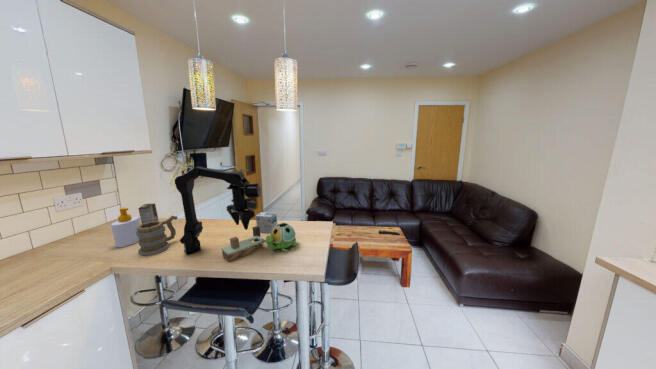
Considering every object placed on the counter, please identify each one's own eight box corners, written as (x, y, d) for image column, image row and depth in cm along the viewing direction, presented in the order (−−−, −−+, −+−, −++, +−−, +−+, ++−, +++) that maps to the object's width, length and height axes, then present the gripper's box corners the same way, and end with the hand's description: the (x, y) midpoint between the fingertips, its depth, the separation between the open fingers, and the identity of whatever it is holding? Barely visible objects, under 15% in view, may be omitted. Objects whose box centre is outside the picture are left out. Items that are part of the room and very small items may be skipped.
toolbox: (229, 261, 112) (228, 255, 111) (222, 256, 118) (221, 249, 117) (264, 248, 124) (264, 241, 124) (257, 243, 130) (256, 237, 129)
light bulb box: (278, 229, 148) (276, 212, 146) (272, 233, 142) (271, 216, 139) (262, 228, 151) (261, 211, 149) (256, 232, 145) (255, 215, 142)
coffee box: (148, 227, 157) (143, 204, 154) (160, 226, 159) (155, 202, 156) (143, 233, 149) (137, 208, 145) (155, 231, 151) (150, 206, 147)
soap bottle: (122, 248, 129) (113, 212, 124) (112, 246, 131) (103, 211, 127) (147, 238, 141) (140, 205, 136) (137, 236, 144) (130, 204, 139)
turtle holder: (258, 252, 120) (256, 230, 118) (285, 238, 135) (283, 218, 132) (275, 259, 113) (273, 235, 111) (301, 244, 128) (300, 223, 125)
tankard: (146, 257, 118) (140, 229, 115) (135, 251, 125) (129, 224, 122) (187, 241, 135) (183, 216, 131) (176, 237, 141) (171, 212, 138)
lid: (228, 255, 111) (226, 244, 110) (221, 249, 117) (219, 239, 116) (265, 241, 124) (264, 232, 123) (257, 236, 130) (256, 227, 129)
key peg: (256, 242, 131) (254, 228, 130) (253, 240, 133) (252, 227, 132) (260, 240, 133) (259, 227, 131) (258, 239, 135) (257, 225, 133)
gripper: (263, 197, 117) (265, 227, 121) (245, 191, 130) (247, 218, 133) (241, 202, 109) (245, 234, 113) (224, 195, 122) (228, 224, 126)
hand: (241, 227), depth 121 cm, fingers open, 9 cm apart
